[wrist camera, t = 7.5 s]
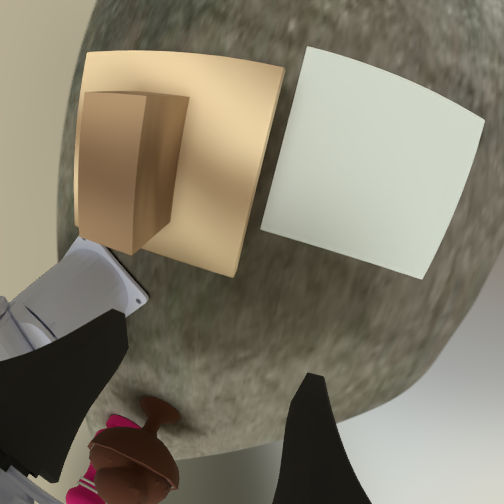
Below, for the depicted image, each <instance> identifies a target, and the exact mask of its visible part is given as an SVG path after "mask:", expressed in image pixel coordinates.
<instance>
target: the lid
mask: <svg viewBox="0 0 504 504" xmlns="http://www.w3.org/2000/svg"><path fill="white" fill-rule="evenodd" d="M285 71H286V70H285V69H284V68H283V67H279V66H274V65H269V64H264V63H259V62H254V61H248V60H242V59H236V58H229V57H222V56H214V55H205V54H195V53H183V52H167V51H101V52H87V56H86V61H85V67H84V73H83V79H82V85H81V92H80V100H79V108H78V117H77V128H76V142H75V162H74V214H75V226H78V227H79V237H82V238H84V239H87V240H90V241H92V242H95V243H98V244H101V245H103V246H106V247H109V248H112V249H114V250H117V251H120V252H123V253H126V254H128V255H131V256H132V255H133V254H134V253H136V252H137V251H138V250H139V249H140V248H141V249H144V250H147V251H150V252H153V253H156V254H159V255H162V256H165V257H169V258H172V259H175V260H178V261H181V262H184V263H187V264H190V265H193V266H196V267H200V268H203V269H206V270H209V271H212V272H215V273H219V274H222V275H225V276H228V277H231V278H233V277H234V275H235V273H236V271H237V267H238V263H239V259H240V254H241V250H242V246H243V242H244V237H245V233H246V229H247V225H248V221H249V216H250V212H251V208H252V204H253V200H254V196H255V192H256V187H257V183H258V179H259V175H260V171H261V167H262V163H263V159H264V155H265V151H266V146H267V142H268V138H269V134H270V130H271V126H272V122H273V118H274V114H275V110H276V106H277V102H278V98H279V94H280V90H281V86H282V82H283V78H284V74H285Z"/></svg>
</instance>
